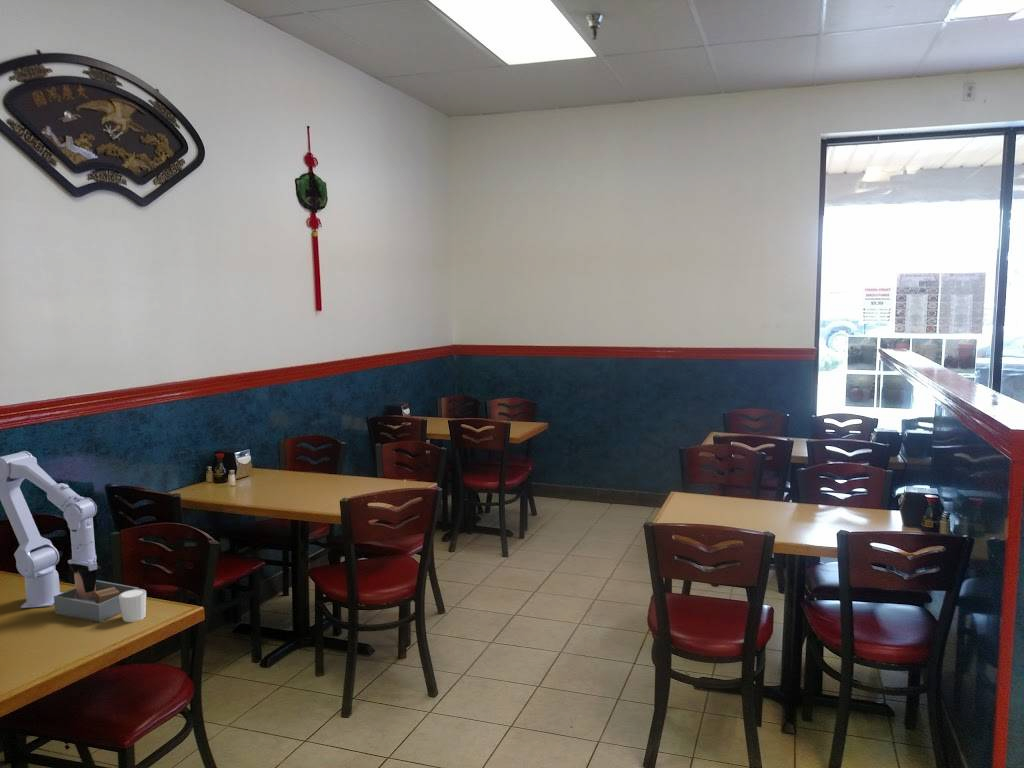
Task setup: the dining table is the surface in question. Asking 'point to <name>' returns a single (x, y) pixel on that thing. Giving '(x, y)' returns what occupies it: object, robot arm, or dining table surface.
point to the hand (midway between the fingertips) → (86, 588)
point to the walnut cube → (105, 594)
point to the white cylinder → (133, 604)
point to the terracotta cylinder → (82, 588)
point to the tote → (90, 603)
